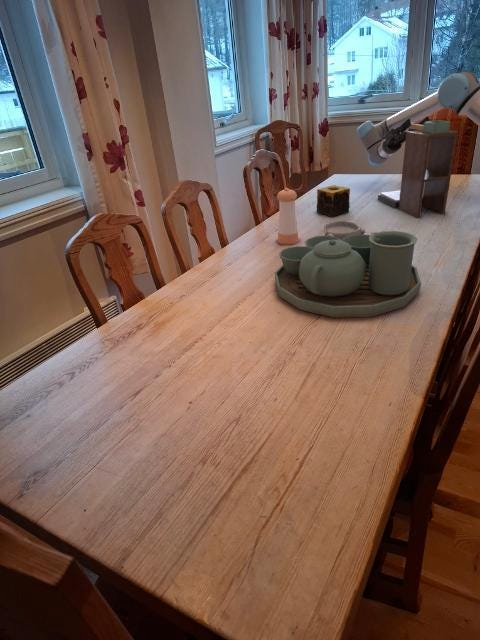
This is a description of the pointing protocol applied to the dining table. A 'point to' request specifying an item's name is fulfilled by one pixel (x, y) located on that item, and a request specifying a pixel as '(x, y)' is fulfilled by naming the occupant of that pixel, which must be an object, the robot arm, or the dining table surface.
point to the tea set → (350, 274)
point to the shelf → (426, 171)
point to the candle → (333, 200)
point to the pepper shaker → (287, 217)
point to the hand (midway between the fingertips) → (418, 121)
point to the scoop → (432, 127)
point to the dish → (342, 229)
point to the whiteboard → (390, 198)
